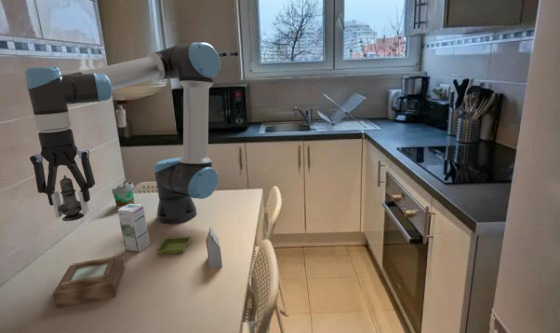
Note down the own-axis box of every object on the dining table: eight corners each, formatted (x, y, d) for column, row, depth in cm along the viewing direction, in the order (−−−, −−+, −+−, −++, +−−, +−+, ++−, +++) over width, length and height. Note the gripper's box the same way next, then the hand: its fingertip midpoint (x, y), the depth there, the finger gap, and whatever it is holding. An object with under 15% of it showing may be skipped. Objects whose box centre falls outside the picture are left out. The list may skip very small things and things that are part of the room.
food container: (130, 211, 151) (126, 188, 148) (115, 211, 151) (111, 189, 148) (141, 200, 163) (137, 179, 160) (128, 201, 163) (124, 180, 160)
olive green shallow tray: (157, 257, 112) (156, 251, 112) (166, 243, 121) (165, 238, 120) (184, 255, 112) (183, 249, 111) (191, 242, 120) (191, 236, 120)
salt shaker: (74, 222, 94) (64, 178, 91) (55, 221, 96) (46, 178, 92) (90, 213, 100) (82, 172, 97) (73, 212, 101) (64, 171, 98)
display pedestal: (124, 268, 106) (121, 253, 104) (115, 296, 93) (112, 279, 91) (73, 277, 103) (69, 261, 101) (56, 307, 89) (51, 289, 88)
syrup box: (150, 244, 120) (144, 203, 116) (138, 252, 115) (131, 210, 111) (137, 242, 122) (129, 202, 118) (124, 250, 117) (116, 209, 113)
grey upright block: (220, 255, 110) (216, 225, 108) (222, 266, 104) (218, 235, 101) (208, 257, 109) (204, 227, 107) (209, 268, 103) (205, 237, 100)
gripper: (98, 125, 97) (113, 205, 103) (21, 130, 93) (40, 213, 99) (90, 129, 90) (106, 215, 95) (5, 135, 86) (28, 224, 92)
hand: (73, 214), depth 97 cm, fingers closed on salt shaker, 6 cm apart
